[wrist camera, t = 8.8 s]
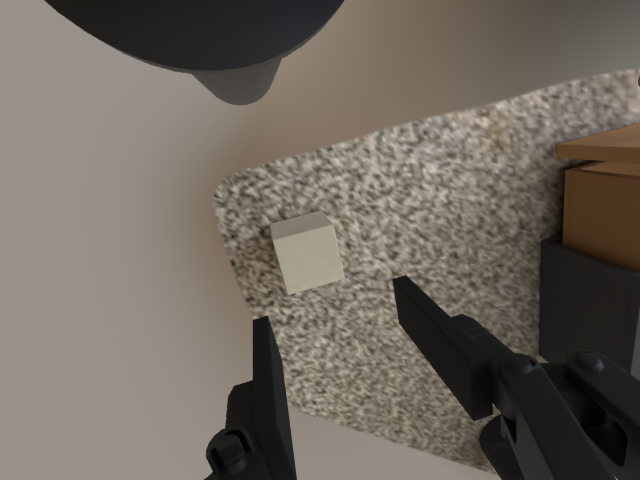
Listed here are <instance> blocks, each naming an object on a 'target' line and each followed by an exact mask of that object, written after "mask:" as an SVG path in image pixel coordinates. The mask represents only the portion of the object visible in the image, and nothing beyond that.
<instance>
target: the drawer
mask: <svg viewBox="0 0 640 480" xmlns="http://www.w3.org/2000/svg"><path fill="white" fill-rule="evenodd" d="M638 85H639V87H640V77H639V79H638ZM557 157H561V158H572V159H584V160H595V161H598V162H594V163H590V164H586V165H583V166H579V167H575V168H572V169H568V170H566V172H565V195H564V219H563V242H562V245H565V246H568V247H571V248H573V249H576V250H579V251H581V252H584V253H587V254H590V255H592V256H595V257H598V258H601V259H603V260H606V261H609V262H611V263H614V264H617V265H620V266H622V267H625V268H628V269H630V270H633V271H636V272H639V273H640V123H637V124H633V125H629V126H625V127H621V128H617V129H613V130H610V131H606V132H602V133H598V134H594V135H590V136H587V137H583V138H579V139H575V140H571V141H567V142H564V143H560V144H557Z"/></svg>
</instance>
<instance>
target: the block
mask: <svg viewBox="0 0 640 480" xmlns="http://www.w3.org/2000/svg"><path fill="white" fill-rule="evenodd" d="M270 230H271V236H272V241H273V245H274V248H275V252H276V255H277V259H278V262H279V266H280V269H281V273H282V276H283V280H284V284H285V287H286V291H287V294H288V295H290V294H294V293H297V292H301V291H304V290H308V289H311V288H314V287H318V286H321V285H325V284H328V283H332V282H335V281H339V280H342V279H345V277H344V272H343V267H342V263H341V258H340V253H339V248H338V244H337V239H336V234H335V229H334V225H333V224H332V222H331V221H330V220H329V219H328V218H327V217H326V215H325V214H324V213H323V212H322V211H317V212H313V213H310V214H306V215H302V216H298V217H294V218H290V219H287V220H283V221H279V222H275V223H271V224H270Z"/></svg>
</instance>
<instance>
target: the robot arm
mask: <svg viewBox="0 0 640 480" xmlns="http://www.w3.org/2000/svg"><path fill="white" fill-rule="evenodd" d="M392 280H393V287H394V293H395V299H396V306H397V312H398V319H399V324H400V325H401V326H402V327H403V329H404V330H405V331H406V333H407V334H408V335H409V337H410V338H411V339H412V341H413V342H414V343H415V345H416V346H417V347H418V348H419V350H420V351H421V352H422V354H423V355H424V356H425V358H426V359H427V360H428V362H429V363H430V364H431V366H432V367H433V368H434V370H435V371H436V372H437V373H438V375H439V376H440V377H441V379H442V380H443V381H444V383H445V384H446V385H447V387H448V388H449V389H450V391H451V392H452V393H453V395H454V396H455V397H456V398H457V400H458V401H459V402H460V404H461V405H462V406H463V408H464V409H465V410H466V412H467V413H468V414H469V416H470V417H471V418H472V419H473V421H476V420H479V419H481V418H484V417H487V416H490V415H493V408H492V403H493V404H494V405H495V406H496V407H497V408H498V409H499V411H500V412H501V434H502V438H506V436H505V432H506V434H507V436H508V439H509V441H510V444H511V446H512V449H513V451H514V453H515V456H516V458H517V461H518V463H519V466H520V468H521V470H522V473H523V475H524V478H525V480H616V479H615V477H616V478H617V479H618V480H640V380H638V379H637V378H635V377H634V376H633V375H631V374H630V373H629V372H627V371H626V370H624V369H623V368H622V367H620V366H619V365H618V364H616V363H615V362H613V361H612V360H611V359H609V358H608V357H606V356H604V355H603V354H601V353H598V352H595V351H592V350H586V349H575V350H571V351H569V352H567V354H566V355H565V362H555V363H539V362H538V361H537V360H536V359H534V358H532V357H530V356H527V355H524V354H517V353H514V352H512V351H511V350H510V349H509V348H508V347H506V346H505V345H504V344H503V343H502V342H501V341H499V340H498V339H497V338H496V337H495V336H494V335H492V334H491V333H489V331H488V330H486V329H485V328H484V327H482V325H481V324H479V323H478V322H477V321H476V320H475V319H473V318H471V317H469V316H466V315H464V314H461V315H457V316H454V317H450V316H449V315H448V314H447V313H446V312H444V311H443V310H442V309H441V308H440V307H439V306H438V305H437V304H436V303H435V302H434V301H433V300H432V299H431V298H430V297H429V296H427V295H426V294H425V293H424V292H423V291H422V290H421V289H420V288H419V287H418V286H417V285H416V284H415V283H414V282H413V281H412V280H411V279H409V278H408V277H407V276H406V275H405V276H402V277H398V278H395V279H392ZM226 417H227V419H226V425H225V429H222V430H221V431H220V432H218V433H217V434H216V435H215V436H214V437H213V438H212V440H211V441H210V442H209V444H208V447H207V450H206V458H207V460H208V462H209V464H210V466H211V468H212V470H213V472H212V473H211V474H210V475H209V476H208V477H207V478H206V479H204V480H297V477H296V469H295V461H294V453H293V445H292V438H291V429H290V422H289V414H288V406H287V398H286V390H285V382H284V374H283V366H282V359H281V356H280V353H279V349H278V346H277V343H276V340H275V337H274V334H273V330H272V327H271V324H270V321H269V318H268V316H265V317H262V318H258V319H255V320H253V380H252V381H249V382H245V383H242V384H239V385H236V386H234V387H233V389H232V391H231V393H230V394H229V396H228V404H227V414H226ZM611 472H612V473H611ZM613 475H614V476H615V477H614V476H613Z"/></svg>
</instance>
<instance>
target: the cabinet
mask: <svg viewBox="0 0 640 480" xmlns="http://www.w3.org/2000/svg"><path fill="white" fill-rule="evenodd" d="M562 242H563V235H561V236H557V237H554V238H550V239H547V240H544V241H541V286H540V340H539V355H540V356H541V357H543V358H544V359H545V360H546V361H547V362H549V363H555V362H565V355H566V354H567V352H569V351H571V350H575V349H586V350H592V351H595V352H598V353H601V354H603V355H604V356H606V357H608V358H609V359H611V360H612V361H613V362H615V363H616V364H618V365H619V366H620V367H622V368H623V369H624V370H626V371H627V372H629V373H630V374H631V375H633V376H634V377H635V378H637V379H638V380H640V273H639V272H636V271H633V270H630V269H628V268H625V267H622V266H620V265H617V264H614V263H611V262H609V261H606V260H603V259H601V258H598V257H595V256H592V255H590V254H587V253H584V252H581V251H579V250H576V249H573V248H571V247H568V246H565V245H562Z"/></svg>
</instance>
